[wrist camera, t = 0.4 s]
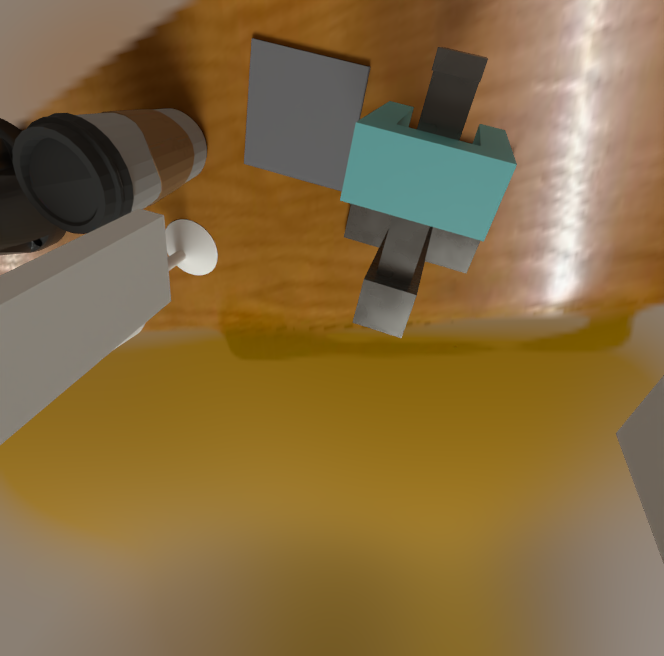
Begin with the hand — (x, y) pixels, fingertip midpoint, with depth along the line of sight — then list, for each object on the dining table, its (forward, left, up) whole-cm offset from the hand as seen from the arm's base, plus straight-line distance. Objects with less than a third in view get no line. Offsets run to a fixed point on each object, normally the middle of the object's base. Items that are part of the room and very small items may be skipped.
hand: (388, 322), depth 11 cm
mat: (-12, -2, -29) cm, 32 cm away
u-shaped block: (0, +1, -19) cm, 19 cm away
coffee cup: (-24, -7, -30) cm, 39 cm away
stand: (0, -2, -29) cm, 29 cm away
